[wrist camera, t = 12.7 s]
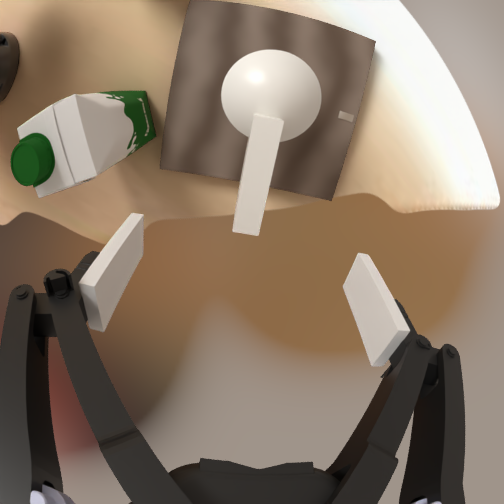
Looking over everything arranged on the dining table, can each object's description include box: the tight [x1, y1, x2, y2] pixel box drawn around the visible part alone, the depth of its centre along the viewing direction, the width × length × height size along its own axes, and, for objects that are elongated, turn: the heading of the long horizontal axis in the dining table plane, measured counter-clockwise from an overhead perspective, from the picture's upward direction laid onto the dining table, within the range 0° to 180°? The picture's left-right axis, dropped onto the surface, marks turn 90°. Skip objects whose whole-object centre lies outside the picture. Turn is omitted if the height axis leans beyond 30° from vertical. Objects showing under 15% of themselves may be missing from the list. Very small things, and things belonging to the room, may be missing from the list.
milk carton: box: [11, 91, 156, 198], centre depth 25 cm, size 9×9×20 cm
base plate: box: [160, 0, 376, 201], centre depth 32 cm, size 24×24×2 cm
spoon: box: [221, 50, 321, 236], centre depth 25 cm, size 18×9×6 cm, turn 169°
